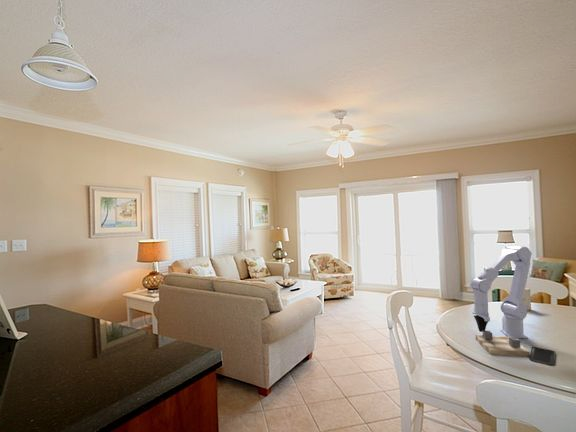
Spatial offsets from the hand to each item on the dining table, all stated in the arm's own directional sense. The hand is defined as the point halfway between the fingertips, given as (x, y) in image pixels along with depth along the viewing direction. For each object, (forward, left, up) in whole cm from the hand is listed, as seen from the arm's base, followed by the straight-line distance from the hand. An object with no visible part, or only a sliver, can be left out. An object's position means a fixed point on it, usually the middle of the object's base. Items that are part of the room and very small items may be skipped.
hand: (481, 331), depth 148 cm
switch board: (+10, +4, -3) cm, 11 cm away
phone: (+17, +17, -4) cm, 24 cm away
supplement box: (-53, +42, -3) cm, 67 cm away
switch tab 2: (+13, +8, -1) cm, 16 cm away
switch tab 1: (+6, 0, -1) cm, 7 cm away
